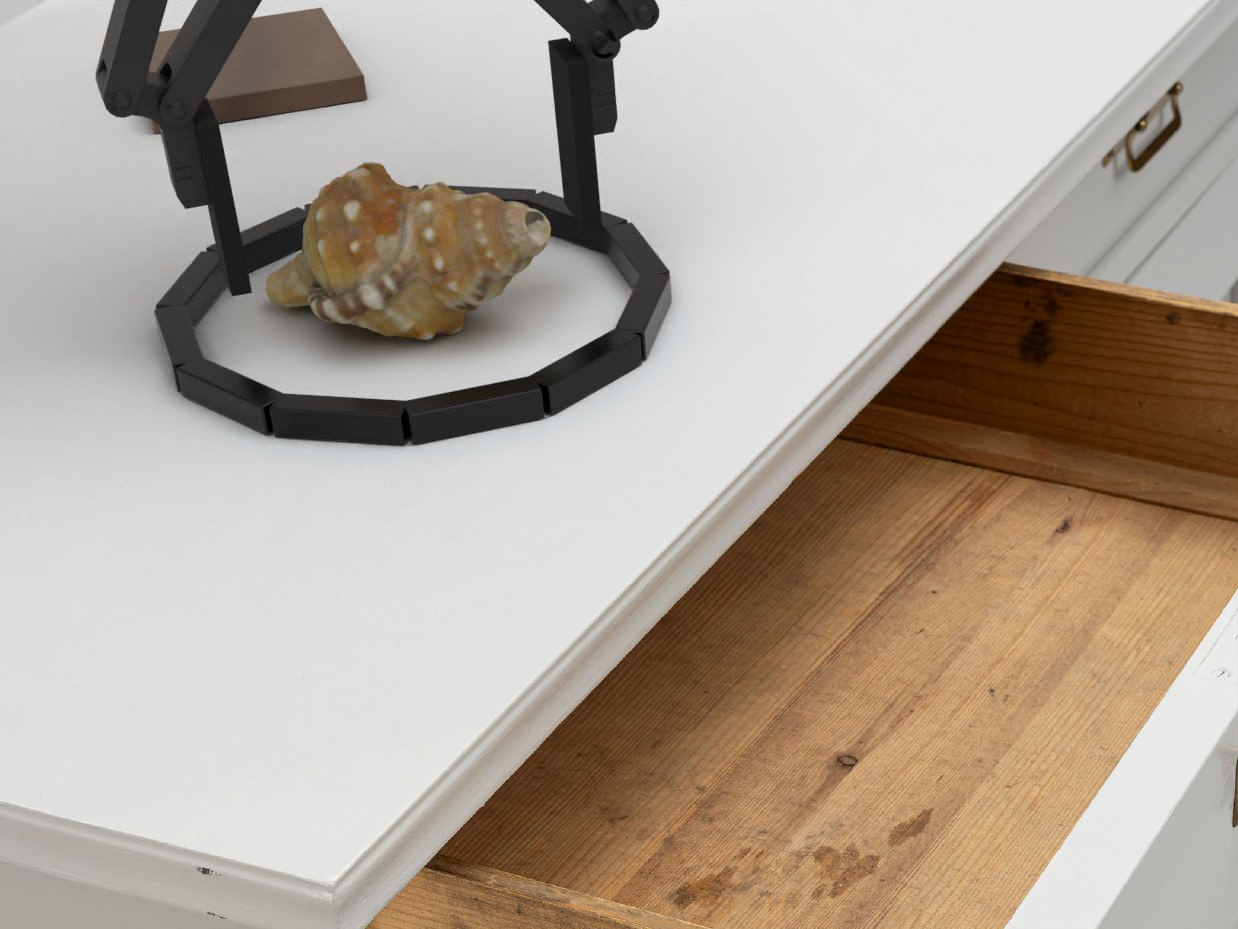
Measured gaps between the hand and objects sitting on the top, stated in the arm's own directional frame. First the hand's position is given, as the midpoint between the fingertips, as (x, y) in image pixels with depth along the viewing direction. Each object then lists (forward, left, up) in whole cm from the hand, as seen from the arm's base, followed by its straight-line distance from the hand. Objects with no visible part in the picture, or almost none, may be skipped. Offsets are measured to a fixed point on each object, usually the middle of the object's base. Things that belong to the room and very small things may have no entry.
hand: (413, 247), depth 84 cm
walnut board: (-2, +28, -3) cm, 28 cm away
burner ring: (0, 0, -3) cm, 3 cm away
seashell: (0, 0, -3) cm, 3 cm away
